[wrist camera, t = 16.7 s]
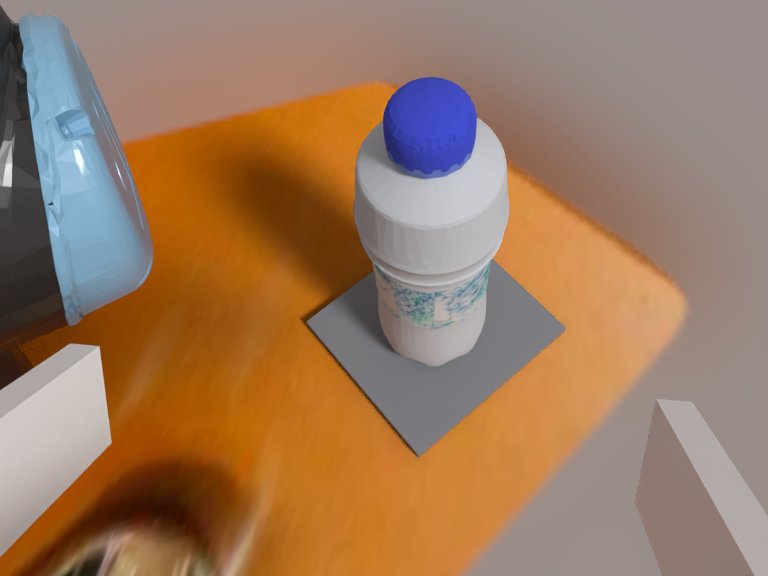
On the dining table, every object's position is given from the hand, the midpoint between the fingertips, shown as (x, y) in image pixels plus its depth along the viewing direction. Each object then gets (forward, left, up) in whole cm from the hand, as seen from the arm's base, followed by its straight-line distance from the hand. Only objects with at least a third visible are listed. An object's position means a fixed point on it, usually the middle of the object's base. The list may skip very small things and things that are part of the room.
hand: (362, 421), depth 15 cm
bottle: (-8, +9, -22) cm, 25 cm away
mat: (-8, +9, -23) cm, 25 cm away
